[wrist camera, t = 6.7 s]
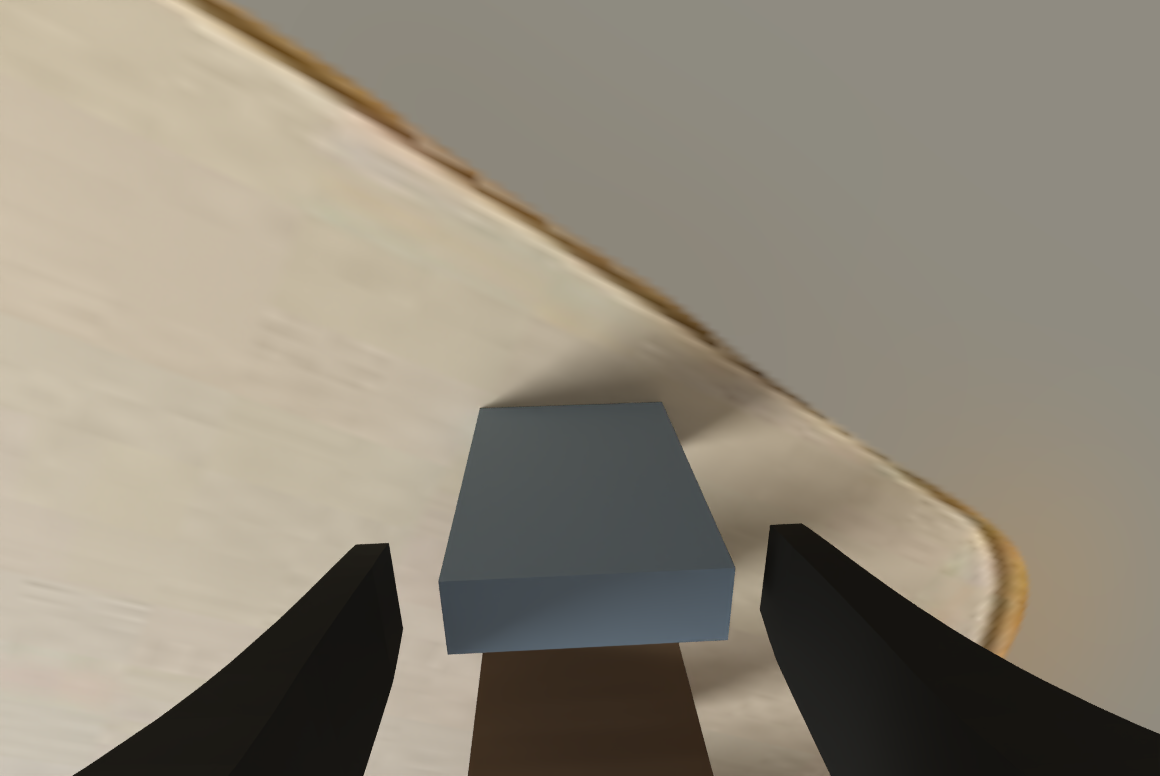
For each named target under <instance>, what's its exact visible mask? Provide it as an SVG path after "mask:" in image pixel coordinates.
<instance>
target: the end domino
mask: <svg viewBox="0 0 1160 776" xmlns="http://www.w3.org/2000/svg"><path fill="white" fill-rule="evenodd" d="M734 576H735V566H734V564H733V561H732V559H731V557H730V555H729V552H728V550H727V548H726V546H725V543H724V541H723V539H722V537H721V534H720V532H719V530H718V528H717V525H716V523H715V521H714V519H713V516H712V514H711V512H710V510H709V507H708V505H707V503H706V501H705V498H704V496H703V494H702V491H701V489H700V487H699V485H698V482H697V480H696V478H695V476H694V473H693V471H692V469H691V467H690V464H689V462H688V460H687V458H686V455H685V453H684V451H683V449H682V446H681V444H680V442H679V440H678V437H677V435H676V433H675V430H674V428H673V426H672V424H671V421H670V419H669V417H668V415H667V412H666V410H665V408H664V406H663V403H662V402H648V403H619V404H589V405H560V406H531V407H502V408H480V410H479V415H478V419H477V423H476V427H475V431H474V435H473V440H472V444H471V448H470V452H469V456H468V460H467V465H466V469H465V473H464V477H463V481H462V486H461V490H460V494H459V498H458V502H457V506H456V511H455V515H454V519H453V523H452V527H451V531H450V536H449V540H448V544H447V548H446V552H445V557H444V561H443V565H442V569H441V573H440V577H439V590H440V598H441V606H442V613H443V621H444V629H445V637H446V645H447V652H448V654H467V653H486V652H506V651H525V650H544V649H563V648H583V647H602V646H621V645H640V644H660V643H679V642H698V641H717V640H728V633H729V624H730V614H731V605H732V595H733V586H734Z"/></svg>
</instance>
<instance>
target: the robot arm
mask: <svg viewBox="0 0 1160 776" xmlns="http://www.w3.org/2000/svg"><path fill="white" fill-rule="evenodd" d="M760 611H761V615H762V618H763V621H764V624H765V627H766V631H767V634H768V637H769V640H770V643H771V646H772V649H773V652H774V655H775V657H776V660H777V662H778V665H779V667H780V669H781V671H782V674H783V676H784V678H785V680H786V682H787V684H788V686H789V689H790V691H791V693H792V695H793V697H794V699H795V701H796V704H797V706H798V708H799V710H800V712H801V714H802V716H803V718H804V720H805V722H806V725H807V727H808V729H809V731H810V733H811V735H812V737H813V739H814V741H815V744H816V746H817V748H818V750H819V752H820V754H821V756H822V758H823V760H824V762H825V765H826V767H827V769H828V771H829V773H830V775H831V776H1160V734H1158V733H1156V732H1153V731H1151V730H1149V729H1146V728H1144V727H1141V726H1139V725H1137V724H1135V723H1132V722H1130V721H1128V720H1126V719H1124V718H1121V717H1119V716H1117V715H1115V714H1112V713H1110V712H1108V711H1105V710H1104V709H1101V708H1099V707H1097V706H1095V705H1093V704H1091V703H1088V702H1087V701H1085V700H1083V699H1081V698H1079V697H1076V696H1074V695H1072V694H1070V693H1068V692H1066V691H1064V690H1062V689H1060V688H1058V687H1056V686H1054V685H1052V684H1050V683H1048V682H1046V681H1044V680H1042V679H1040V678H1038V677H1036V676H1034V675H1032V674H1030V673H1028V672H1027V671H1025V670H1023V669H1021V668H1019V667H1017V666H1015V665H1014V664H1012V663H1010V662H1008V661H1006V660H1005V659H1003V658H1001V657H999V656H998V655H996V654H994V653H992V652H991V651H989V650H987V649H985V648H983V647H982V646H980V645H978V644H976V643H975V642H973V641H971V640H970V639H968V638H966V637H965V636H963V635H961V634H960V633H958V632H956V631H955V630H953V629H951V628H950V627H948V626H947V625H945V624H944V623H942V622H941V621H939V620H938V619H936V618H934V617H933V616H931V615H930V614H928V613H927V612H925V611H924V610H922V609H921V608H919V607H917V606H916V605H915V604H913V603H912V602H910V601H909V600H907V599H906V598H904V597H903V596H901V595H900V594H898V593H897V592H896V591H894V590H893V589H891V588H890V587H888V586H887V585H886V584H884V583H883V582H881V581H880V580H879V579H877V578H876V577H875V576H873V575H872V574H870V573H869V572H868V571H866V570H865V569H864V568H862V567H861V566H859V565H858V564H857V563H855V562H854V561H853V560H851V559H850V558H849V557H847V556H846V555H845V554H843V553H842V552H841V551H839V550H838V549H837V548H835V547H834V546H833V545H831V544H830V543H829V542H827V541H826V540H824V539H823V538H822V537H820V536H819V535H818V534H816V533H815V532H813V531H812V530H811V529H809V528H808V527H806V526H805V525H803V524H781V525H770V531H769V539H768V548H767V556H766V564H765V572H764V580H763V589H762V597H761V605H760ZM402 632H403V626H402V620H401V614H400V608H399V602H398V596H397V590H396V584H395V577H394V571H393V565H392V559H391V553H390V547H389V543H380V544H359V545H355V546H354V547H353V548H352V549H351V550H350V551H348V552H347V553H346V554H345V555H344V556H343V557H342V558H341V559H340V560H339V561H338V562H337V563H336V564H335V565H334V566H333V567H332V568H331V569H330V570H329V571H328V572H327V573H326V574H325V575H324V576H323V577H322V578H321V579H320V580H319V581H318V582H317V583H316V584H315V585H314V586H313V587H312V588H311V589H310V590H309V591H308V592H307V593H306V594H305V595H304V596H303V597H302V598H301V599H300V600H299V601H298V602H297V603H296V604H295V605H294V606H293V607H291V608H290V609H289V610H288V611H287V612H286V613H285V614H284V615H283V616H282V617H281V618H280V619H279V620H278V621H277V622H276V623H275V624H273V625H272V626H271V627H270V628H269V629H268V630H267V631H266V632H264V633H263V634H262V635H261V636H260V637H259V638H258V639H256V640H255V641H254V642H253V643H252V644H251V645H250V646H249V647H247V648H246V649H245V650H244V651H243V652H242V653H241V654H239V655H238V656H237V657H236V658H235V659H234V660H233V661H232V662H230V663H229V664H228V665H227V666H226V667H224V668H223V669H222V670H221V671H219V672H218V673H217V674H216V675H215V676H213V677H212V678H211V679H210V680H208V681H207V682H206V683H205V684H203V685H202V686H201V687H199V688H198V689H197V690H195V691H194V692H193V693H192V694H190V695H189V696H188V697H186V698H185V699H184V700H182V701H181V702H180V703H178V704H177V705H176V706H174V707H173V708H172V709H170V710H169V711H168V712H166V713H165V714H164V715H162V716H161V717H159V718H158V719H157V720H155V721H154V722H152V723H151V724H149V725H148V726H146V727H145V728H143V729H142V730H140V731H139V732H138V733H136V734H135V735H133V736H132V737H130V738H129V739H127V740H126V741H124V742H123V743H121V744H120V745H118V746H117V747H115V748H114V749H112V750H111V751H109V752H108V753H106V754H105V755H103V756H102V757H101V758H99V759H98V760H96V761H95V762H93V763H92V764H90V765H89V766H87V767H86V768H84V769H82V770H81V771H79V772H78V773H76V774H74V775H73V776H363V775H364V772H365V769H366V766H367V763H368V760H369V757H370V753H371V750H372V747H373V744H374V741H375V738H376V735H377V732H378V729H379V725H380V722H381V719H382V716H383V713H384V709H385V706H386V703H387V700H388V697H389V693H390V690H391V687H392V683H393V679H394V674H395V669H396V664H397V659H398V654H399V648H400V643H401V637H402Z"/></svg>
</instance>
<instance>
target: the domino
mask: <svg viewBox="0 0 1160 776" xmlns="http://www.w3.org/2000/svg"><path fill="white" fill-rule="evenodd" d="M468 776H713V772H712V768H711V765H710V761H709V757H708V753H707V750H706V746H705V742H704V738H703V734H702V731H701V727H700V723H699V719H698V715H697V712H696V708H695V704H694V700H693V696H692V693H691V689H690V685H689V681H688V677H687V674H686V670H685V666H684V662H683V658H682V655H681V651H680V647H679V643H660V644H640V645H621V646H602V647H583V648H563V649H544V650H525V651H506V652H486V653H483V655H482V664H481V672H480V680H479V688H478V697H477V705H476V713H475V721H474V730H473V738H472V746H471V754H470V763H469V771H468Z"/></svg>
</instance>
